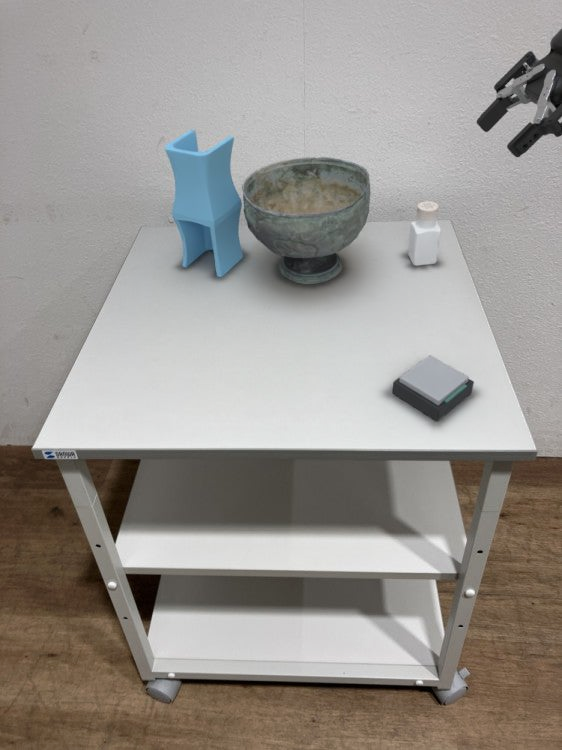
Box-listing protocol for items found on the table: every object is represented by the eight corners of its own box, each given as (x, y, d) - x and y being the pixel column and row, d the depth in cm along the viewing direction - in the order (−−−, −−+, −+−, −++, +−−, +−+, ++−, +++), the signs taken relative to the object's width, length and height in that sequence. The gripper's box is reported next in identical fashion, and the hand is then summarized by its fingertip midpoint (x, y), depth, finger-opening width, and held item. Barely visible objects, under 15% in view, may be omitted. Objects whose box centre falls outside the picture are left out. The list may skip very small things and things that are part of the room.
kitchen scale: (471, 393, 78) (475, 376, 76) (437, 421, 74) (439, 405, 73) (426, 367, 82) (429, 351, 80) (392, 393, 78) (393, 377, 77)
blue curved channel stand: (246, 254, 105) (234, 136, 92) (221, 277, 100) (204, 156, 87) (208, 244, 108) (191, 129, 95) (182, 266, 104) (160, 148, 90)
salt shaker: (413, 267, 100) (418, 213, 93) (406, 254, 103) (411, 201, 96) (437, 264, 100) (444, 210, 93) (430, 252, 103) (437, 198, 96)
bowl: (271, 231, 111) (265, 148, 101) (378, 244, 105) (383, 158, 95) (229, 292, 97) (217, 203, 87) (349, 311, 92) (352, 219, 82)
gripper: (555, -5, 77) (455, 102, 83) (627, 22, 66) (506, 143, 73) (583, 37, 81) (486, 137, 87) (654, 69, 71) (538, 179, 77)
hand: (495, 139), depth 80 cm, fingers open, 8 cm apart
